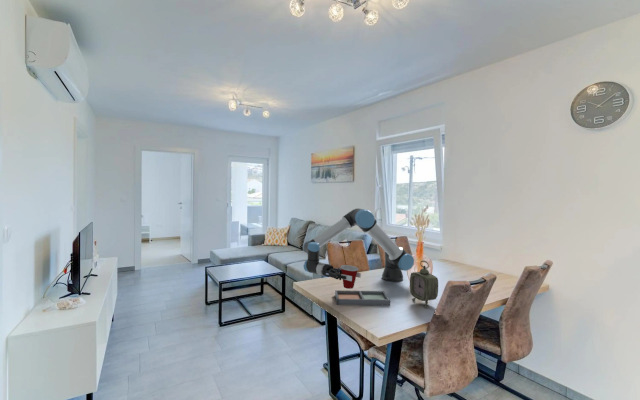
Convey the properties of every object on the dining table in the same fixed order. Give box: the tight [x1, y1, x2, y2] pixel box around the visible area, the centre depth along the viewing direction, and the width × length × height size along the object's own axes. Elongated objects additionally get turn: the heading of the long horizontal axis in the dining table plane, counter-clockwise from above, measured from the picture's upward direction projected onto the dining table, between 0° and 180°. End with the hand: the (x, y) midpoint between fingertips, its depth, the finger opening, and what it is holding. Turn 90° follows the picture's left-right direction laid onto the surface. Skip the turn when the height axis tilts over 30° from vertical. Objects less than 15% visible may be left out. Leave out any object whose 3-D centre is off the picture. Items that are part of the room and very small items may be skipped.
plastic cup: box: [339, 264, 359, 290], centre depth 178 cm, size 11×11×12 cm
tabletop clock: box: [409, 260, 439, 309], centre depth 174 cm, size 14×9×25 cm, turn 21°
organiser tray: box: [334, 289, 391, 306], centre depth 179 cm, size 30×16×3 cm, turn 91°
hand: (356, 277), depth 175 cm, fingers closed on plastic cup, 9 cm apart
